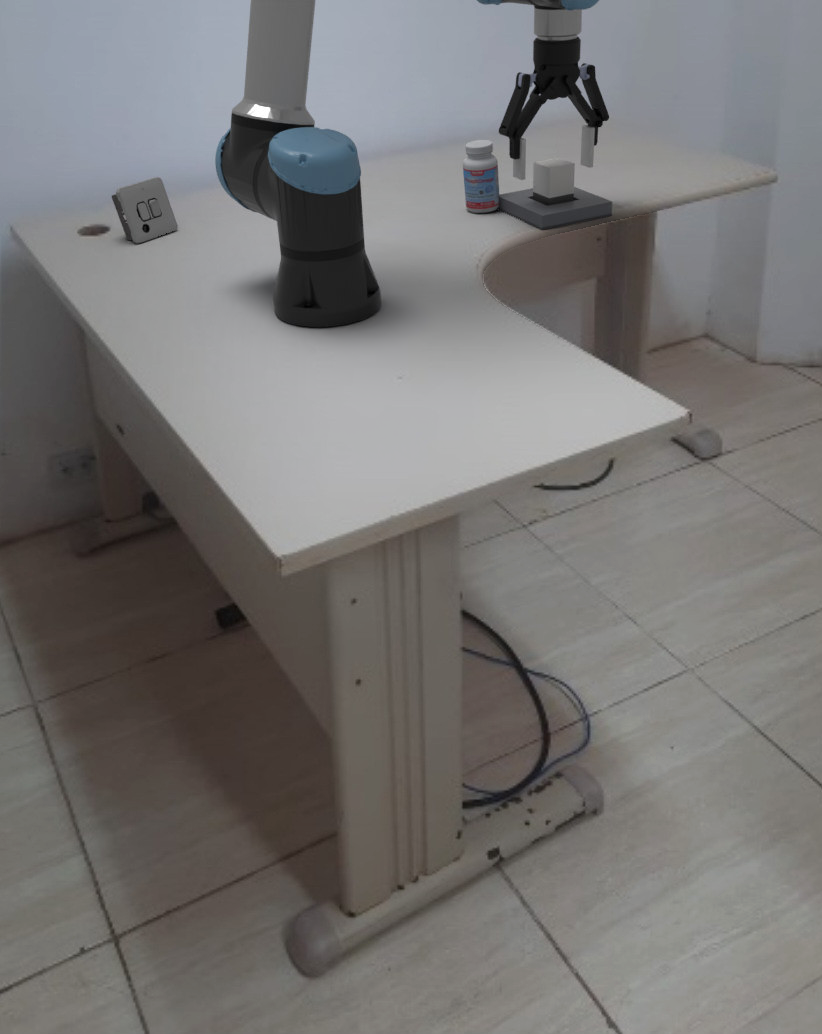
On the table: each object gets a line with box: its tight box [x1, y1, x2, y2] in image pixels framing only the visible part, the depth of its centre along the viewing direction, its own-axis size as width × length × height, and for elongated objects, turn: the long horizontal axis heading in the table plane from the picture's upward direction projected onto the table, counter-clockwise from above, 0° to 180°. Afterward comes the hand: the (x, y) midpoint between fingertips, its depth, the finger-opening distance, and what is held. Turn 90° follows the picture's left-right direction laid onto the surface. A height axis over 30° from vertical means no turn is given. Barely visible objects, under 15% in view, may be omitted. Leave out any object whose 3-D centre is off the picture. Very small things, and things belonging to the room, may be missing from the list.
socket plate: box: [496, 186, 613, 231], centre depth 183 cm, size 15×14×2 cm
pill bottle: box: [462, 139, 500, 214], centre depth 184 cm, size 6×6×11 cm
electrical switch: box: [111, 176, 179, 244], centre depth 181 cm, size 9×5×9 cm, turn 141°
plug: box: [532, 157, 576, 206], centre depth 182 cm, size 5×5×8 cm
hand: (553, 172), depth 180 cm, fingers open, 13 cm apart
